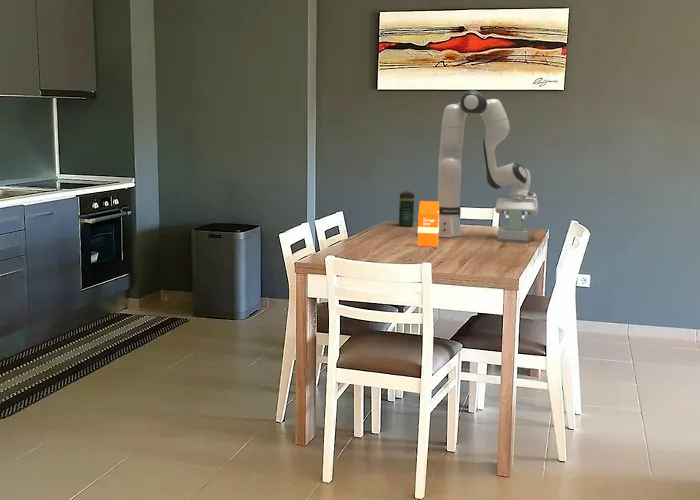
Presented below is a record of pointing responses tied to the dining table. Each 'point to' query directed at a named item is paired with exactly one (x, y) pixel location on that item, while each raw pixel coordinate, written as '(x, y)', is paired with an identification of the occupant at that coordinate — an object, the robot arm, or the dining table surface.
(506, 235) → the gray slotted block
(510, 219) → the green rectangular block
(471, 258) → the dining table surface
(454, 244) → the dining table surface
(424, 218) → the orange juice
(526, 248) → the dining table surface
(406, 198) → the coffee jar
